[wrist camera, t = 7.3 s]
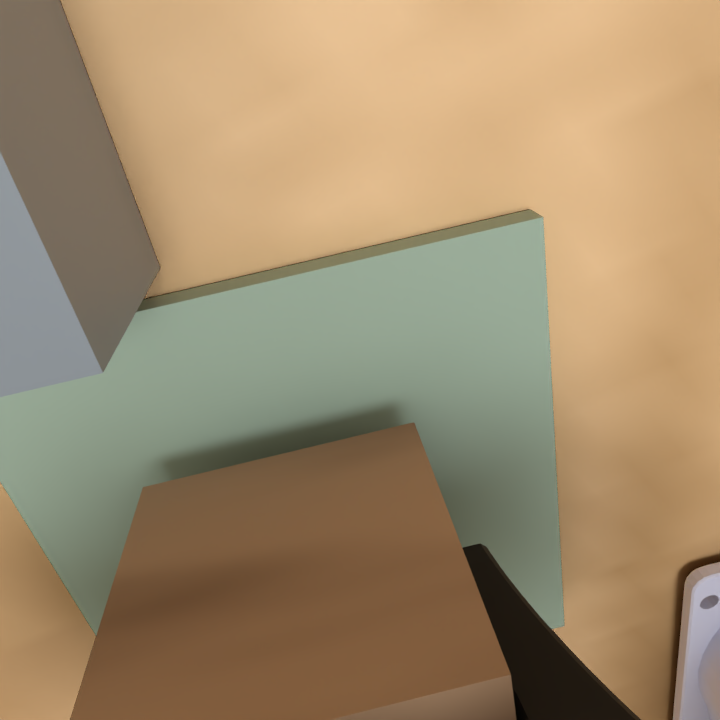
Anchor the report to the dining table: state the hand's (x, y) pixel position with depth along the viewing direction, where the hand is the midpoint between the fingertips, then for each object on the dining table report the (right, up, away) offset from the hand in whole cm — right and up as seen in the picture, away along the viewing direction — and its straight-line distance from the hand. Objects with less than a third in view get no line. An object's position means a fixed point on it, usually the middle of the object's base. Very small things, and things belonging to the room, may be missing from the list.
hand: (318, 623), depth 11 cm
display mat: (0, +1, +3) cm, 3 cm away
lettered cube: (0, +1, +1) cm, 2 cm away
